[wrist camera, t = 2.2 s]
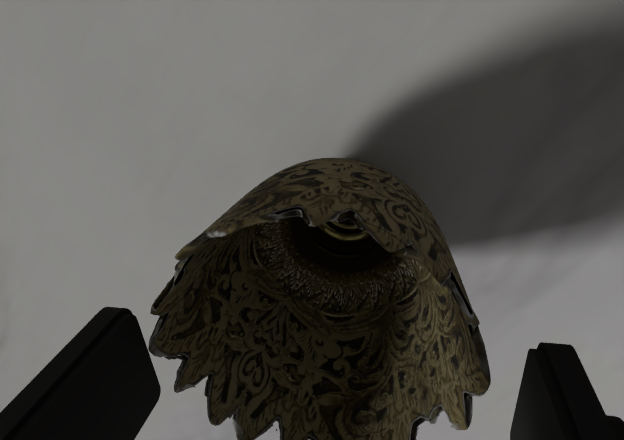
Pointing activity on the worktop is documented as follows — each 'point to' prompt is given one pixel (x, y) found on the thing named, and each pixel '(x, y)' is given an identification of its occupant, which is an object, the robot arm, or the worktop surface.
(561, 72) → the worktop surface
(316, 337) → the olive textured bell shape
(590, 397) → the robot arm
